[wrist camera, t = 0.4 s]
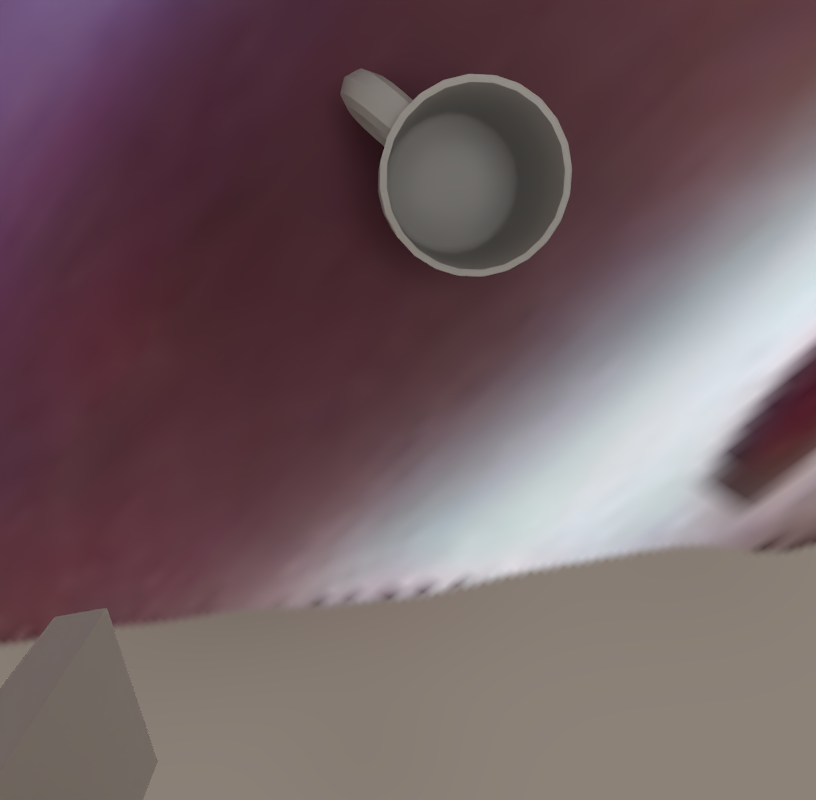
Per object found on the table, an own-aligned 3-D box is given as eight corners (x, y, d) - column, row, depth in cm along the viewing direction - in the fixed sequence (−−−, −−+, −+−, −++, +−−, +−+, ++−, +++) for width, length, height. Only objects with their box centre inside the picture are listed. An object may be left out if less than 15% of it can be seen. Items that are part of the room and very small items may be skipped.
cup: (458, 288, 36) (485, 315, 28) (302, 157, 34) (278, 141, 25) (552, 174, 35) (611, 165, 26) (396, 31, 33) (405, -30, 24)
